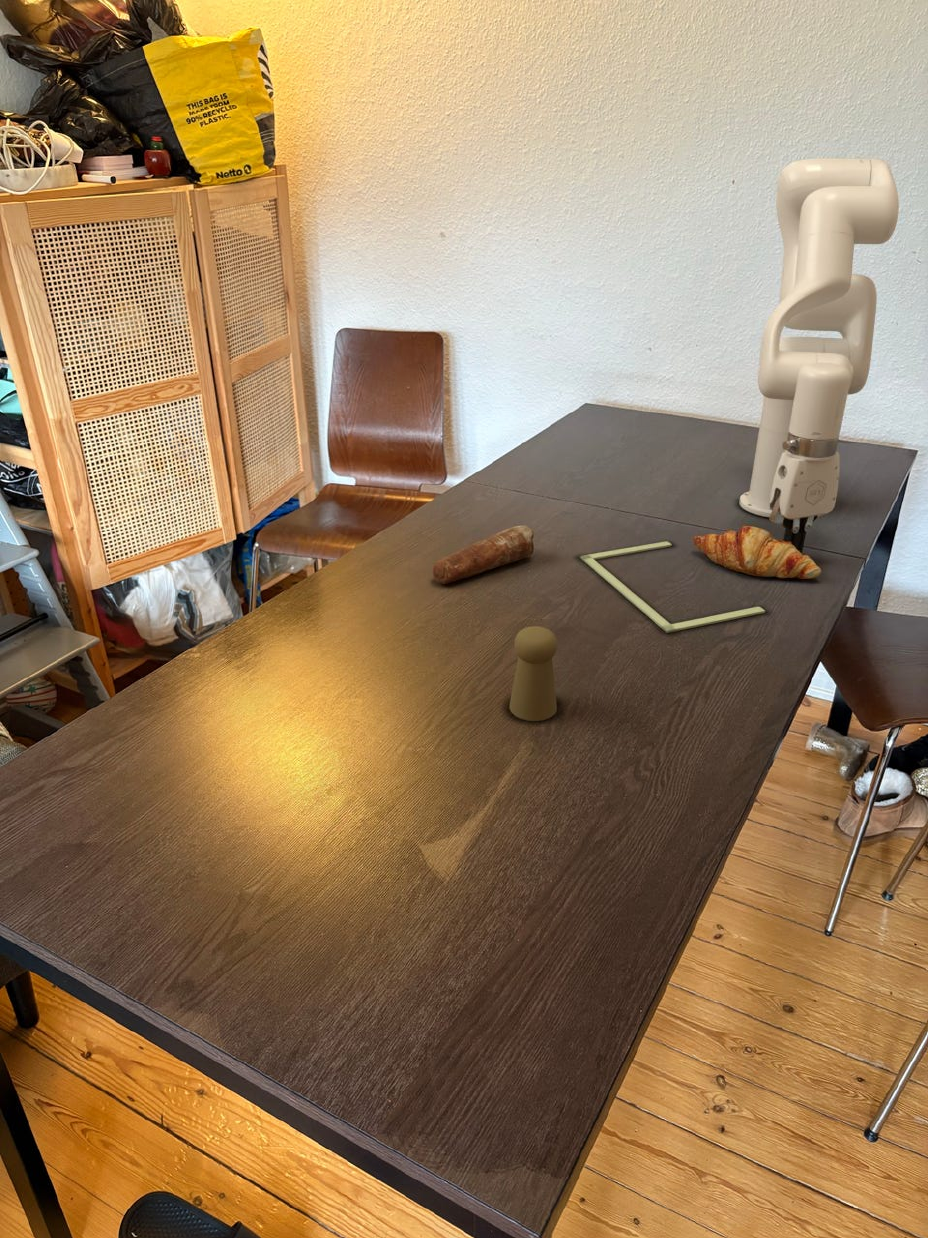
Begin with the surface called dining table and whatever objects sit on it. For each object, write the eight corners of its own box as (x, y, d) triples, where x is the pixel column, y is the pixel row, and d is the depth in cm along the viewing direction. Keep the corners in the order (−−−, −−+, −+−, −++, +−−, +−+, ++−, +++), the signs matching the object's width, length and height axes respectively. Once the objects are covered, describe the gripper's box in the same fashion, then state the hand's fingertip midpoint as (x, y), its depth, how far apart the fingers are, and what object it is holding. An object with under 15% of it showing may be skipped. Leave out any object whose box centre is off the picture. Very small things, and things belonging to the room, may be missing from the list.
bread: (537, 560, 153) (538, 530, 150) (445, 591, 143) (444, 559, 141) (513, 548, 158) (514, 518, 155) (422, 577, 148) (421, 546, 145)
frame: (666, 543, 159) (667, 541, 159) (764, 612, 137) (765, 610, 137) (580, 558, 154) (580, 555, 154) (667, 633, 131) (667, 630, 131)
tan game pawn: (506, 695, 117) (508, 621, 112) (552, 692, 118) (556, 618, 113) (512, 722, 112) (514, 645, 107) (560, 719, 113) (565, 643, 107)
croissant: (818, 594, 149) (833, 546, 149) (811, 589, 140) (826, 539, 140) (694, 562, 159) (707, 518, 158) (680, 556, 150) (693, 509, 149)
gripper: (788, 457, 137) (769, 567, 146) (866, 446, 142) (843, 553, 151) (757, 443, 144) (740, 549, 152) (832, 432, 148) (812, 536, 157)
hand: (791, 551), depth 152 cm, fingers closed
